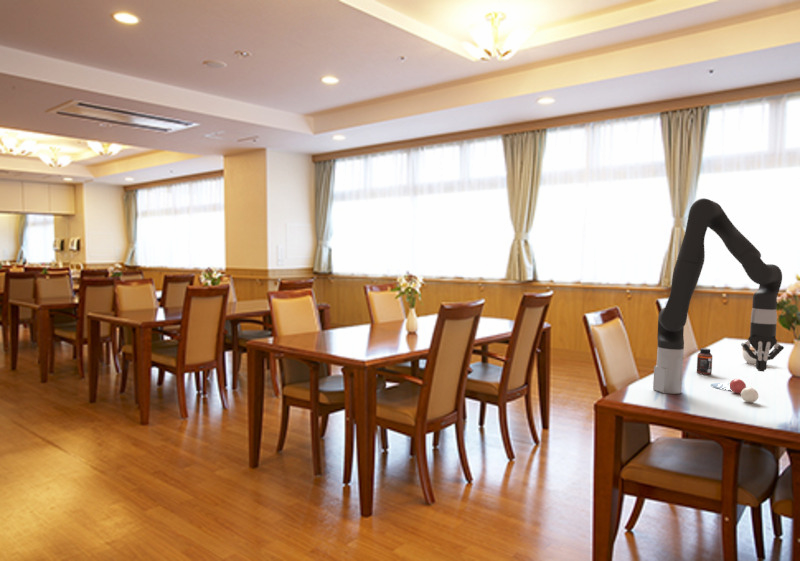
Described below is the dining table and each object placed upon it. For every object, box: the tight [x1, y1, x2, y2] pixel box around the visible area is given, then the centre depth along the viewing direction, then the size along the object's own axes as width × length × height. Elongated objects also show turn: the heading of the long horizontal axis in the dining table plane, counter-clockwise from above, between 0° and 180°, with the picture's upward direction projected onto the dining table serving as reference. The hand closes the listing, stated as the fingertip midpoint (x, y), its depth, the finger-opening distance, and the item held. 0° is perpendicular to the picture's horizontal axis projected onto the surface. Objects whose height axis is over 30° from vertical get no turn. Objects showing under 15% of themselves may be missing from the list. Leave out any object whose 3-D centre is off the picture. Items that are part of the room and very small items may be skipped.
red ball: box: [729, 378, 747, 394], centre depth 217 cm, size 6×6×6 cm
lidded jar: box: [742, 346, 756, 365], centre depth 278 cm, size 11×11×9 cm
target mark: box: [710, 382, 747, 392], centre depth 226 cm, size 14×14×1 cm
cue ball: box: [740, 386, 759, 404], centre depth 204 cm, size 6×6×6 cm
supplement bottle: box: [696, 347, 713, 376], centre depth 251 cm, size 6×6×11 cm
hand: (760, 370), depth 194 cm, fingers closed
